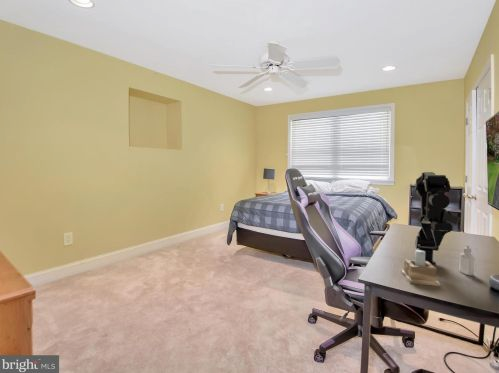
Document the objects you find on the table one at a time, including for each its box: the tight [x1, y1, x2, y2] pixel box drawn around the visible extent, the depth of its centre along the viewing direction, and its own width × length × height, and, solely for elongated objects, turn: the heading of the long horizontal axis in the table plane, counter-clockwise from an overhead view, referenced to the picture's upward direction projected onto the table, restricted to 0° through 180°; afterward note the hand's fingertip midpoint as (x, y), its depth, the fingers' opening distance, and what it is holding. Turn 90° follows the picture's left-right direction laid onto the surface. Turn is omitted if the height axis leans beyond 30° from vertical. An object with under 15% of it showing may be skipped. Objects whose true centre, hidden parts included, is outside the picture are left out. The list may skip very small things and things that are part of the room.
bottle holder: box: [400, 259, 441, 287], centre depth 109 cm, size 12×10×6 cm
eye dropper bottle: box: [458, 244, 476, 276], centre depth 114 cm, size 4×6×12 cm
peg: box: [414, 249, 425, 266], centre depth 109 cm, size 4×4×10 cm
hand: (433, 242), depth 114 cm, fingers open, 9 cm apart
